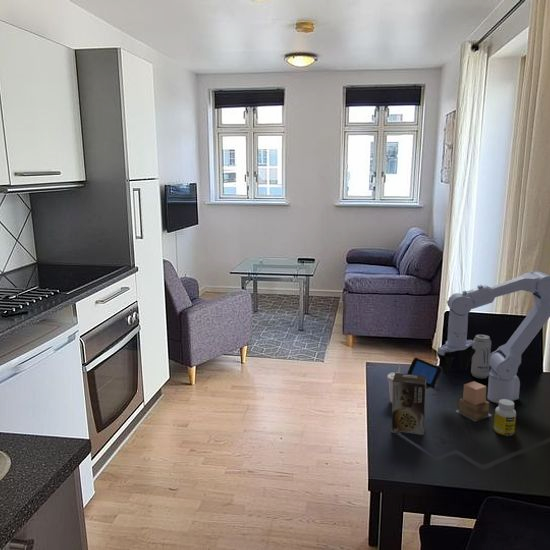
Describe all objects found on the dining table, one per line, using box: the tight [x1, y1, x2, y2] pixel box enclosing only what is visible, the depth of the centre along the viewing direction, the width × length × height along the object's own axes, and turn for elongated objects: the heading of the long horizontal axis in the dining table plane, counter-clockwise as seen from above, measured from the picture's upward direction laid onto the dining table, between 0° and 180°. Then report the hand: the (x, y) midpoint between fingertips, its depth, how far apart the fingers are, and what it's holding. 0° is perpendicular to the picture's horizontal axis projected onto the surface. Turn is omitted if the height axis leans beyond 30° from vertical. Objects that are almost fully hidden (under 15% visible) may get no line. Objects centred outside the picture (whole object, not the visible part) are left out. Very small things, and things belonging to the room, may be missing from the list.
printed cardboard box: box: [391, 372, 427, 436], centre depth 143 cm, size 9×6×16 cm
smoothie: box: [386, 362, 404, 404], centre depth 159 cm, size 6×6×14 cm
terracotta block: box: [462, 380, 487, 405], centre depth 151 cm, size 4×4×5 cm
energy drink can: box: [470, 333, 492, 379], centre depth 180 cm, size 6×6×15 cm
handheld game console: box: [406, 357, 442, 390], centre depth 174 cm, size 12×11×7 cm
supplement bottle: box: [493, 399, 517, 437], centre depth 140 cm, size 5×5×10 cm
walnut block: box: [458, 397, 490, 420], centre depth 152 cm, size 6×6×4 cm
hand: (455, 371), depth 161 cm, fingers open, 7 cm apart
